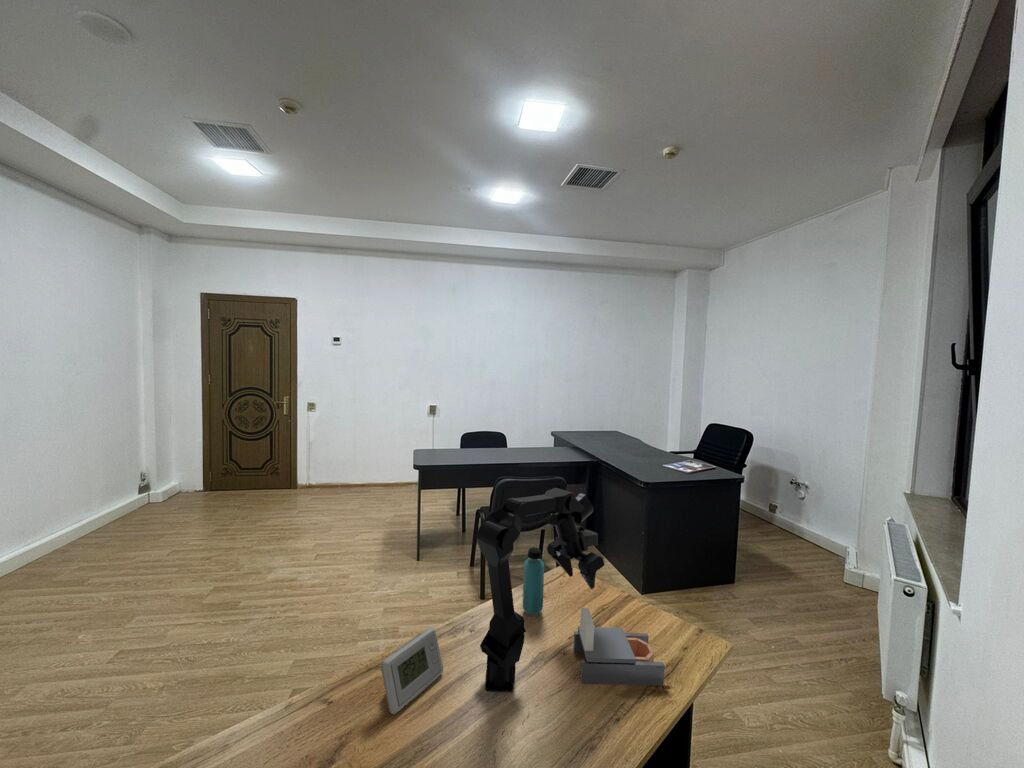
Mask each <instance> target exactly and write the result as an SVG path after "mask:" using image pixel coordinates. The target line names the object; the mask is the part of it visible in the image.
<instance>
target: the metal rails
mask: <svg viewBox="0 0 1024 768" xmlns="http://www.w3.org/2000/svg"><path fill="white" fill-rule="evenodd" d="M624 633H625V636H626V638H638V639H640V640H642V641H644V642H646V643H648V644H649V634H648V633H644V632H643V633H641V632H639V633H637V632H624ZM572 642H573V643H572V645H573V646H572V651H573V653H581V654H582V653H583V654H584V650H583V647H582V643H581V640H580V636H579V633H578V630H577V631H576V630H575V631H573V641H572ZM580 666H581V669H580V670H581V671H580V683H581V684H582V685H583V684H584V685H585V684H587V685H588V684H590V685H623V686H624V685H625V686H628V685H629V686H661V687H664V684H665V683H664V681H665V680H664V679H665V667H666V666H665V663H664V662H663V661H653V662H641V661H636V663H606V662H587V661H586V659H581V665H580Z"/></svg>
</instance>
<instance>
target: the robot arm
mask: <svg viewBox="0 0 1024 768" xmlns="http://www.w3.org/2000/svg"><path fill="white" fill-rule="evenodd" d="M550 512H551V514H550V517H549V518H548V520H547V521H548V522H547V523H548V525H552V526H555V530H556V534H557V536H555V540H553V541H551V542H550V543H548V544H547V547H546V550H547V553H548V555H550V556H551V558H552V559H553V560H554V561H555V562H556V563H557V564H558V565H559V566H560V568H562V570H563V571H564V572H565V573H566V574H567V576H568V577H570V578H572V577H573V576H574V572H573V566H572V561H571V560H572V559H575V560H576V561H578V563H577V567H578V569H579V574H580V575H581V577H582V578H583V579H584V581H585V583H586V585H588V587H589V589H591V590H593V589H594V588H595V584H596V575H597V572H598V571H599V570H600V569H602V568H603V567H604V566H605V563H606V562H605V560H604V557H603V556H601V555H598V554H597V553H595V552H593V551H591V552H589V553H587V554H586V553H584V552H586V551H587V550H589V548H588V547H593V546H595V547H597V546H598V542H599V541H598V539H599V538H598V535H599V534H598V532H595V531H593V530H590V529H585V527H584V526H581V525H577V524H582V522H583V521H585V520H586V518H588V517H589V516H590V515H591V514H592V513H593V512H594V505H593V504H592V502H591V500H590V499H588V498H587V495H586V494H585V493H582V492H580V493H579V494H578V495H577V496H576V494H575V492H572V491H568V490H565V489H560V488H558V487H554V488H550V489H549V490H546V491H545V493H544V494H543V493H542V494H538V495H531V496H524V497H523V496H522V497H516V498H515V497H511V498H507V499H506V500H505V501H504V502H503V504H502V505H501V506H500V507H498V508H497V509H495V510H494V511H492V512H490V513H489V514H488V515H487V517H486V518H485V520H484V521H483V522H482V523H481V525H480V526H479V528H478V530H477V532H476V540H477V545H478V547H479V550H480V552H481V553H482V556H483V557H484V558H485V560H486V562H487V568H488V577H489V583H490V586H489V587H490V592H491V600H492V609H493V615H492V617H491V619H490V620H489V627H488V630H487V632H486V634H485V636H484V637H483V640H482V641H481V643H480V644H479V647H480V650H481V652H482V653H483V654H485V655H487V656H486V669H485V683H484V690H485V692H508V693H509V692H513V691H514V684H515V683H516V664H517V663H519V662H520V659H521V655H522V651H523V647H524V643H525V637H526V636H525V633H527V630H526V626H525V618H524V616H522V615H521V614H520V613H518V612H516V611H515V606H514V597H513V589H512V580H511V579H512V578H511V570H510V562H509V559H510V557H511V555H512V554H513V552H514V544H515V542H516V540H517V539H518V538H519V536H520V535H521V531H522V523H523V520H524V519H525V518H526V517H528V516H529V517H530V516H534V515H539V514H544V513H545V514H546V513H550ZM510 516H512V523H511V525H510V527H506V526H504V525H501V524H499V523H501V522H502V521H504V520H506V518H509V517H510Z"/></svg>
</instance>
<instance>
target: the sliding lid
mask: <svg viewBox="0 0 1024 768" xmlns="http://www.w3.org/2000/svg"><path fill="white" fill-rule="evenodd" d="M577 631H578V633H579V636H580V640H581V643H582V647H583V650H584V653H583V654H584V658H585V660H586V661H587V662H606V663H636V657H635V655H634V653H633V651H632V649H631V647H630V644H629V642H628V640H627V638H626V636H625V633H626V632H625V631H624V629H623V628H622V627H615V626H614V627H608V626H607V627H606V626H595V622H594V621H593V617H592V615H591V612H590V609H589V608H587V607H586V608H585V607H581V608H580V620H579V626H577Z"/></svg>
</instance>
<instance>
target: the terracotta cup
mask: <svg viewBox="0 0 1024 768" xmlns="http://www.w3.org/2000/svg"><path fill="white" fill-rule="evenodd" d="M627 640H628V642H629V644H630V647H631V649H632V651H633V653H634V655H635V657H636V661H641V662H654V656H655V653H654V651H653V649H652V647H651V645H650V644H649V642H648V643H646V642H644V641H642V640H640V639H638V638H627Z"/></svg>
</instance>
